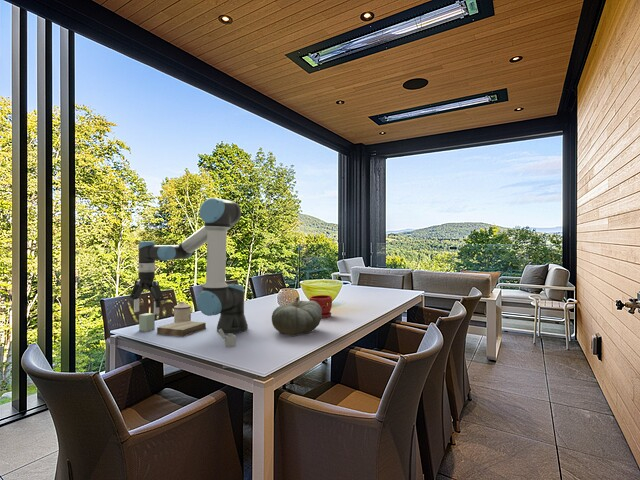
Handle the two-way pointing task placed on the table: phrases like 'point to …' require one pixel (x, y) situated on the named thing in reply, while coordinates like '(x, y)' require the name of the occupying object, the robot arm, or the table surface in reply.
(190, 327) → the walnut base
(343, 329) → the table surface
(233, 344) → the lighter
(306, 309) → the gourd
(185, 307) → the teacup with lid
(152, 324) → the sage pillar block
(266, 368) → the table surface
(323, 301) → the plant pot
